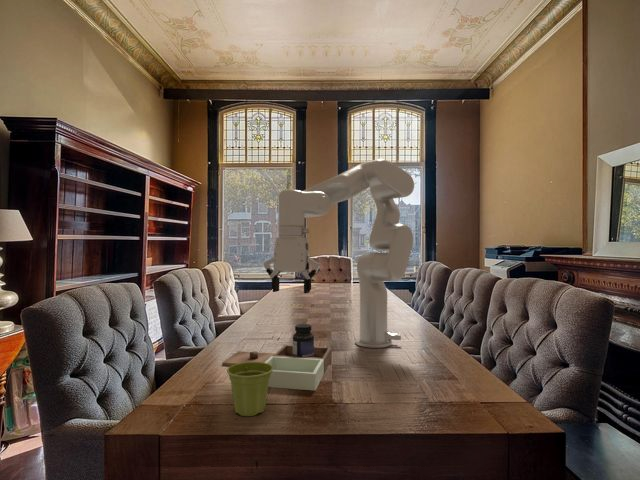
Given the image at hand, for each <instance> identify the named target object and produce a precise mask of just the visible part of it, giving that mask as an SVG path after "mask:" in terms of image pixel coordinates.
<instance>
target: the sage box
mask: <svg viewBox="0 0 640 480" xmlns="http://www.w3.org/2000/svg"><path fill="white" fill-rule="evenodd" d="M265 363H267V364H270V365H272V366H273V371H272V372H271V375H270V378H269V382H268V388H275V389H276V388H277V389H287V390H288V389H290V390H305V391H315V392H316V390H317V389H318V386H319V384H320V383H321V382H322V381H321V380H322V379H323V376H324V375H325V372H324V359H311V358H293V357H276V356H271V357H270V358H269V359H268V360H267V361H266V362H265Z"/></svg>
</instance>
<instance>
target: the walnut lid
mask: <svg viewBox="0 0 640 480" xmlns="http://www.w3.org/2000/svg"><path fill="white" fill-rule="evenodd" d="M276 353H277V352H274V353H273V352H260V351H259V352H258V351H254V350H253V351H242V350H241V351H240V350H239V351H236V352H235V353H234V354H232V355H231V356H230V357H228V358H226V360H223V362H222V363H221V365H222V366H224V367H225V366H226V367H230V366H232V365H235V364H239V363H244V362H263V363H265V362H266V361H267V360H268V359H269V358H270V357H271V356H273V355H275V354H276Z"/></svg>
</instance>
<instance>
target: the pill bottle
mask: <svg viewBox="0 0 640 480" xmlns="http://www.w3.org/2000/svg"><path fill="white" fill-rule="evenodd" d="M294 328H295V329H294V331H295V333H294V334H293V336H292V345H293V356H297V357H314V347H315V336H314V334H313V333H312V332H311V331H312V324H307V323H299V324H296V325H295V326H294Z"/></svg>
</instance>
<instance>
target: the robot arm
mask: <svg viewBox="0 0 640 480" xmlns="http://www.w3.org/2000/svg"><path fill="white" fill-rule="evenodd" d="M367 189H369V191H370V195H371V197H372V199H373V200H374V204H375V206H376V214H375V218H374V222H373V224H372V228H371V232H370V233H369V234H370V235H369V240H368V241H369V242H368V244H369V246H370V248H371V249H373V250H375V251H376V252H366V253H364V254H362V255H360V256H359V258H358V260H357V263H356V271H357V277H358V282H359V336H358V337H357V338H356V339H355V341H354V342H355V344H356V345H358V346H359V347H363V348H368V349H380V348H382V349H384V348H387V347H388V348H389V347H391V346H392V345H393V341H402V340H401V339H402V337H401V334H398V333H391V332H389V329H388V289H387V287H386V284H385V282H392V283H395V282H399V281H400V280H401V279H403V277H404V276H405V274H406V271H407V267H408V263H409V260H410V256H411V253H412V249H413V245H414V234H413V231H412V229H411V227H410V226H408V225H407V224H402V223H399V222H400V218H401V213H400V209H399V207H398V205H397V204H396V202H395V200H394V199H400V198H401V199H402V198H406V197H410V196H411V194H412V193H413V192H414V189H415V181H414V179H413V177H412V175H411V174H410V173H408V172H407V171H406V170H404V169H403V168H401V167H399V166H398V165H396V164H395V163H393V162H391V161H388V160H386V159H384V158H383V159H382V158H379V159H373V160H369V161H365V162H362V163H359V164H357V165H355V166H353V167H351V168H349V169H348V170H347V169H346V171H343V172H341V173H340V174H338V175H336V176H333V177H331V178H328V179H326V180H324V181H321V182H320V183H318V184H317V183H316V184H315V185H313V186H311V187H308V188H306V189H304V190H300V189H299V190H298V189H284V190H281V191H279V194H278V236H277V237H276V239H275V243H274V249H273V257H272V258H269V259H268V260H266V261H265V262H263V266H264V269H265V272H266V273H267V274H268V276H269V277H270V279H271V289H272V292H273V293H276V292H279V291H280V277H279V275H280V274H281V273H301V274H302V275H303V276H304V277H305V278H304V279H303V294H309V293H310V291H311V290H312V279H313V278H314V277H315V275H317V274H318V271H319V269H320V267H321V263H320V262H318V261H316V260H314V259H313V258H311V254H310V245H309V240H308V237H305V236H306V235H307V234H309V233H310V229H309V228H307V227H306V226H305V222H306V221H305V220H306V219H307V218H314V217H315V218H316V217H323V216H325V215H327V214H328V213H329V211H330V209H331V207H332V204H336V203H340V202H341V203H342V202H345V201H347V200H348V201H349V200H350V199H352V198H353V197H355V196H356V195H358V194H360V193H362V192H363V191H365V190H367ZM377 251H378V252H377ZM271 265H273V269H272V266H271ZM311 265H312V267H313V268H312V270H310V269H311Z"/></svg>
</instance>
